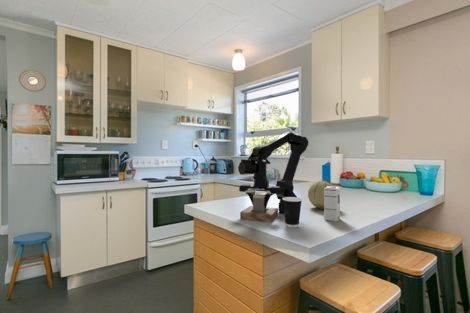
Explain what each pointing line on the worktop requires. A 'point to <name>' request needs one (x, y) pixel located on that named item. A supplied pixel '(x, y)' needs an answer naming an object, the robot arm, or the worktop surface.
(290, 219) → the dixie cup
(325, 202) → the syrup box
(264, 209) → the plug
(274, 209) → the socket block
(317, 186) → the cantaloupe
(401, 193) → the worktop surface
